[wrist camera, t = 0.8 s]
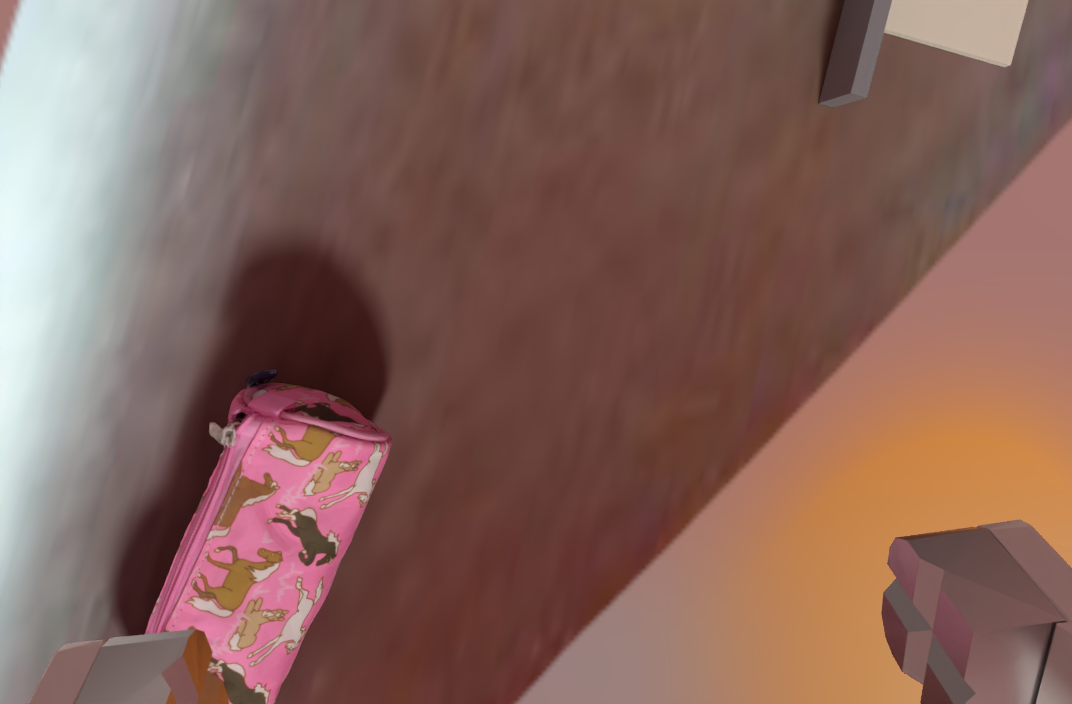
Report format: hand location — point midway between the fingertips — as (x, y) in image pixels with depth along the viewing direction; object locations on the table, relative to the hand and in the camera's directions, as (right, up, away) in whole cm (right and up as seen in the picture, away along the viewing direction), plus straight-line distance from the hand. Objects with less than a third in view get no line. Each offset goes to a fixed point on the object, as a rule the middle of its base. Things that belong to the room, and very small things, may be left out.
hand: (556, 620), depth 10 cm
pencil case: (-17, -8, +42) cm, 46 cm away
